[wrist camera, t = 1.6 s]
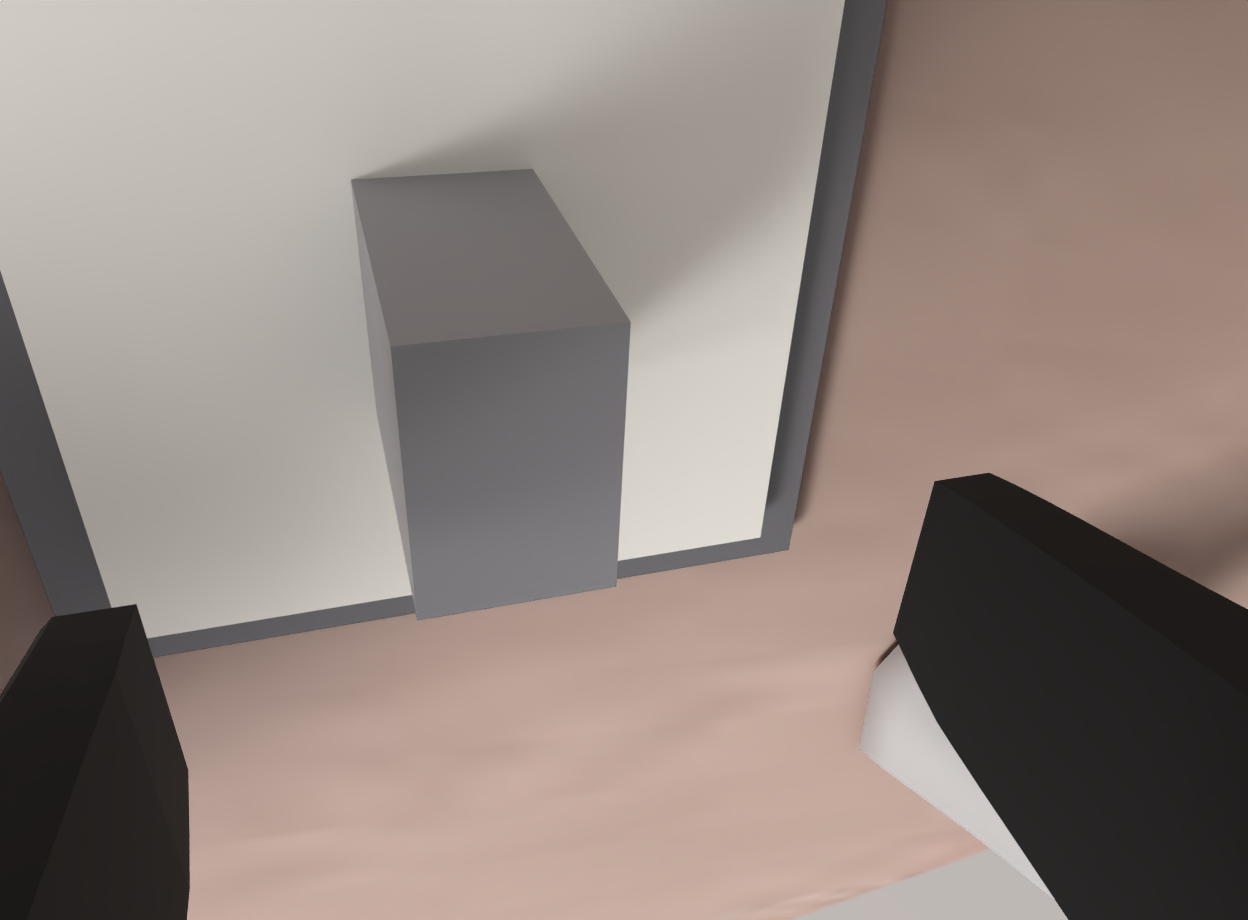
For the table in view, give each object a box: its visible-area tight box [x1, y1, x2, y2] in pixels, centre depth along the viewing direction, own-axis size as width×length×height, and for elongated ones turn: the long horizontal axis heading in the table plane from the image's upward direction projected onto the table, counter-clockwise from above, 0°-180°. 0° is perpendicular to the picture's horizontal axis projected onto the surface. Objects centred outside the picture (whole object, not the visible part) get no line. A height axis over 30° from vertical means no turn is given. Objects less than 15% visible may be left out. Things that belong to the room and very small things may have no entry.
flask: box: [859, 644, 1055, 900], centre depth 22 cm, size 7×7×10 cm
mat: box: [0, 0, 887, 657], centre depth 15 cm, size 13×13×1 cm
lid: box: [0, 0, 845, 638], centre depth 13 cm, size 11×11×5 cm
